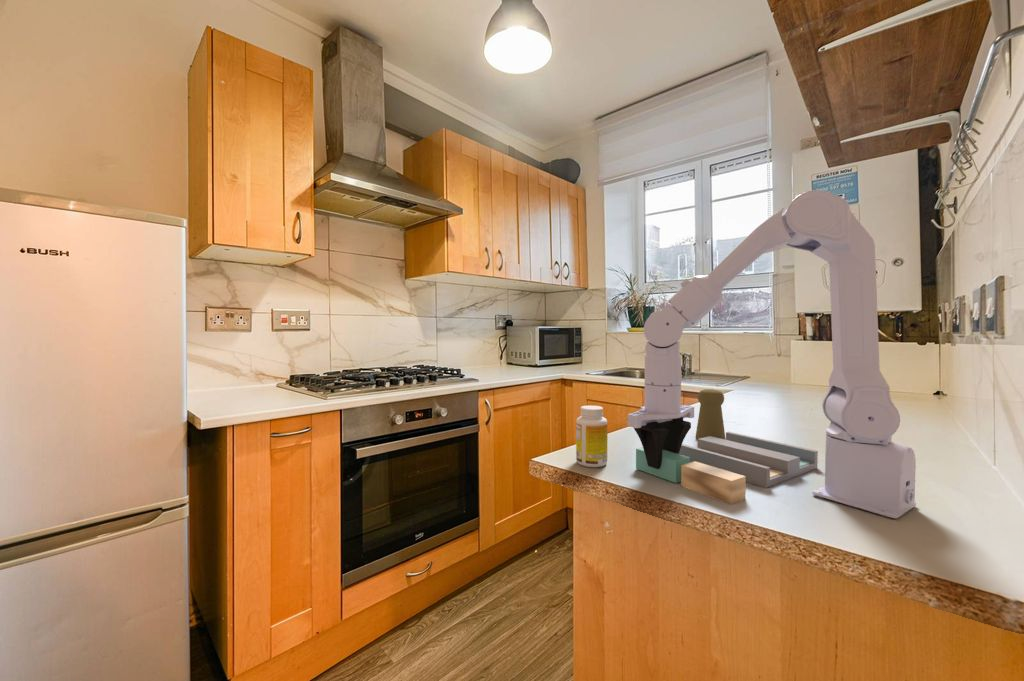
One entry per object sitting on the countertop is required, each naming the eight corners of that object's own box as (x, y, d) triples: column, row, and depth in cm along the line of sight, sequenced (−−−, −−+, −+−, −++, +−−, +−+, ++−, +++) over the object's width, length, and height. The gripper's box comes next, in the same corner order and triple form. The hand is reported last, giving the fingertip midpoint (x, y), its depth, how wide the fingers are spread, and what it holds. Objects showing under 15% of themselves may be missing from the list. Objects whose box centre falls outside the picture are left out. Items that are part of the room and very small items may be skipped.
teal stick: (689, 478, 68) (689, 457, 68) (675, 483, 66) (675, 460, 66) (649, 465, 74) (649, 445, 74) (635, 468, 73) (636, 448, 72)
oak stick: (745, 500, 60) (745, 476, 60) (731, 505, 58) (731, 481, 58) (695, 483, 67) (695, 461, 67) (681, 487, 65) (681, 465, 65)
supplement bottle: (613, 463, 76) (613, 407, 75) (595, 470, 72) (595, 411, 72) (588, 456, 80) (588, 403, 79) (569, 463, 76) (569, 407, 76)
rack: (817, 467, 73) (817, 450, 73) (766, 487, 64) (766, 468, 64) (728, 446, 87) (728, 431, 87) (676, 459, 78) (676, 443, 78)
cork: (719, 436, 94) (720, 387, 94) (730, 443, 88) (731, 392, 88) (691, 435, 95) (692, 387, 95) (700, 443, 89) (701, 391, 89)
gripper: (670, 378, 77) (669, 451, 77) (613, 384, 69) (613, 465, 70) (705, 382, 71) (704, 462, 71) (648, 389, 63) (647, 478, 64)
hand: (661, 464), depth 70 cm, fingers closed on teal stick, 3 cm apart
